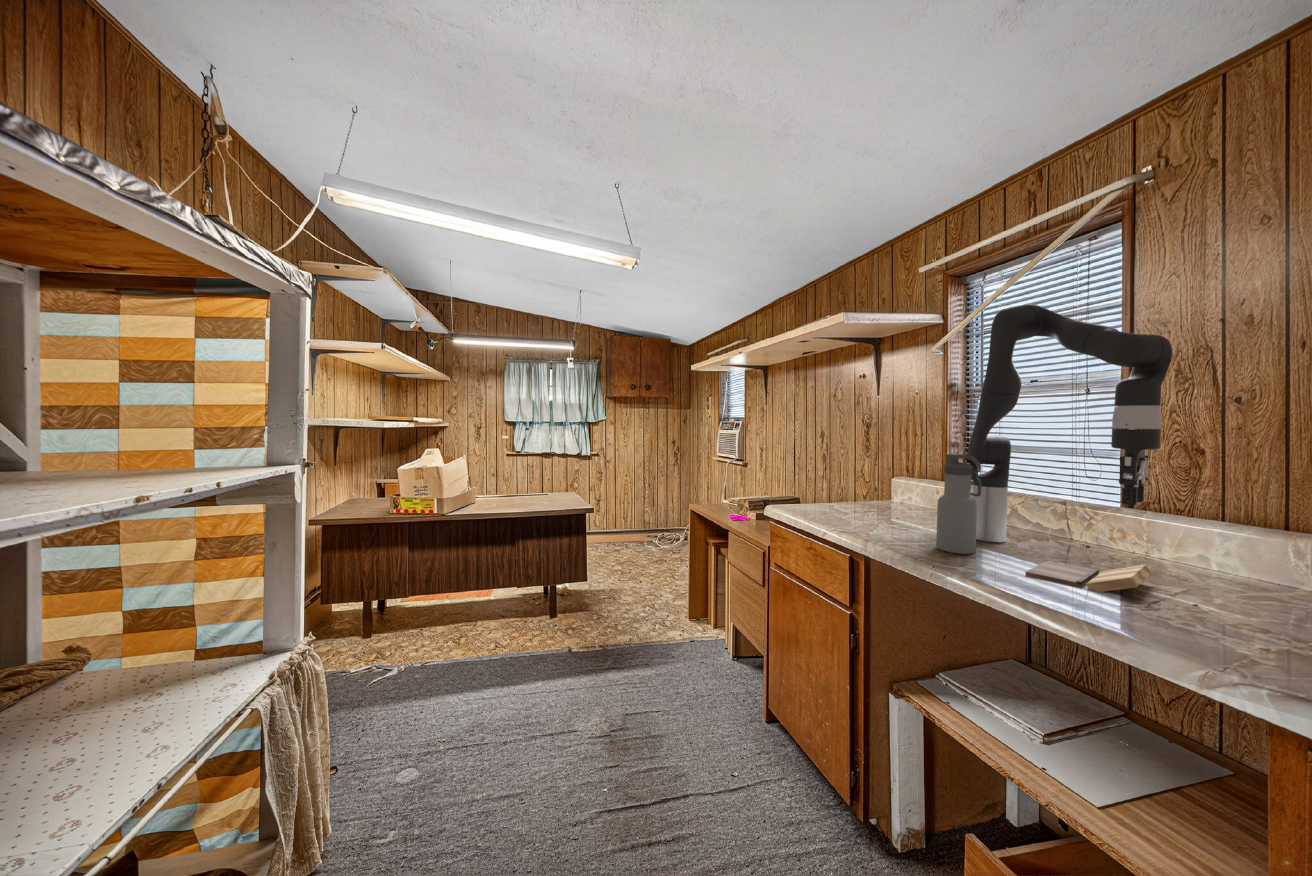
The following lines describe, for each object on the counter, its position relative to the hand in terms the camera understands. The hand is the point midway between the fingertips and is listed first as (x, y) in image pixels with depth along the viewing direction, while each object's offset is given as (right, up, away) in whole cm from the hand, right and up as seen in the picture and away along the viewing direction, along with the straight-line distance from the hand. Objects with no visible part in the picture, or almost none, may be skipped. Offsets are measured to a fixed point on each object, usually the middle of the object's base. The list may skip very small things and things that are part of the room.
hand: (1132, 503), depth 104 cm
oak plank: (-1, -18, +2) cm, 18 cm away
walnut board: (-7, -19, +10) cm, 23 cm away
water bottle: (-16, -19, +35) cm, 43 cm away
